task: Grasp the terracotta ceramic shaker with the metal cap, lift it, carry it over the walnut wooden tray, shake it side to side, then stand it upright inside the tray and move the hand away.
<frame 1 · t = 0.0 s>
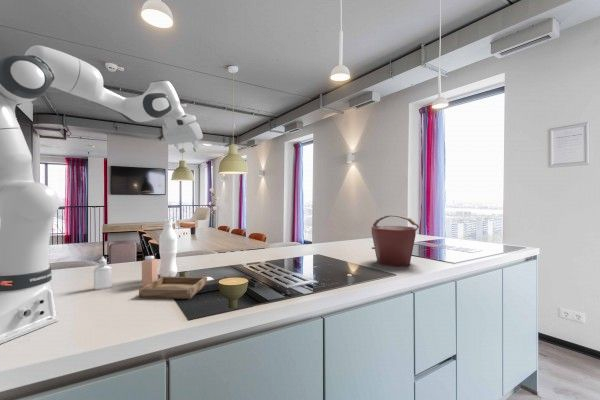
hand: (189, 151, 131), 54 cm above the worktop, tool tilted 30°, fingers open, 8 cm apart
eye dropper bottle: (103, 288, 114), on the worktop
bucket: (393, 263, 156), on the worktop
tray: (175, 290, 110), on the worktop
water bottle: (168, 278, 128), on the worktop
shaker: (149, 285, 117), on the worktop
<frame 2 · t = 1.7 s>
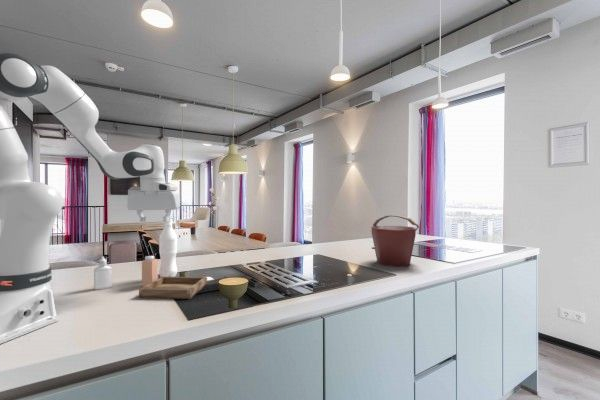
hand: (154, 221, 118), 25 cm above the worktop, tool pointing down, fingers open, 8 cm apart
nothing on the worktop moved.
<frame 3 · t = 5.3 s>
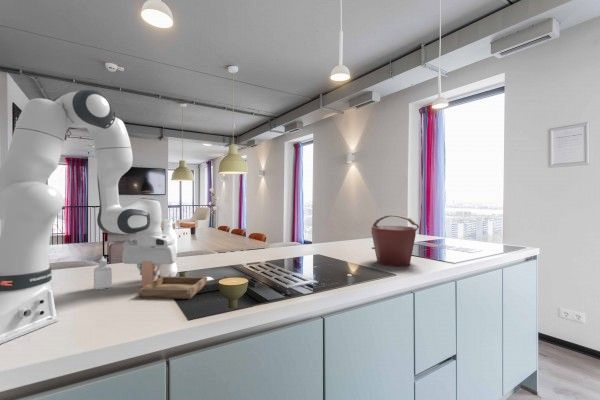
hand: (149, 275, 117), 4 cm above the worktop, tool pointing down, fingers closed on shaker, 4 cm apart
shaker: (149, 285, 117), on the worktop, touching gripper
everything else where it was.
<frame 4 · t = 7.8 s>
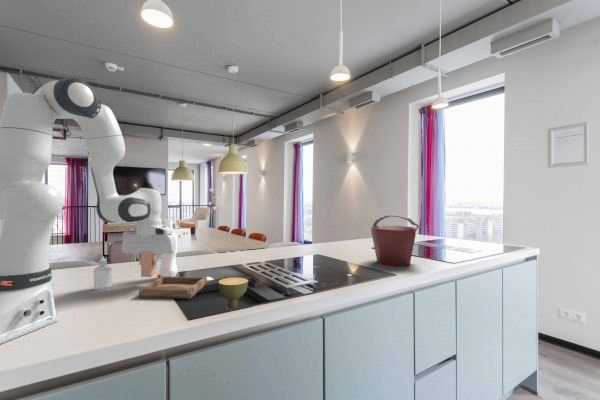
hand: (149, 264, 117), 8 cm above the worktop, tool pointing down, fingers closed on shaker, 4 cm apart
shaker: (149, 275, 117), point 4 cm above the worktop, touching gripper
everything else where it was.
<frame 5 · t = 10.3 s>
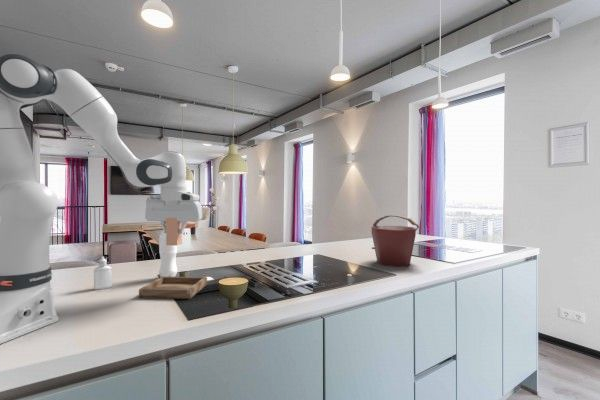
hand: (174, 233, 111), 21 cm above the worktop, tool pointing down, fingers closed on shaker, 4 cm apart
shaker: (174, 244, 111), point 17 cm above the worktop, touching gripper
everything else where it was.
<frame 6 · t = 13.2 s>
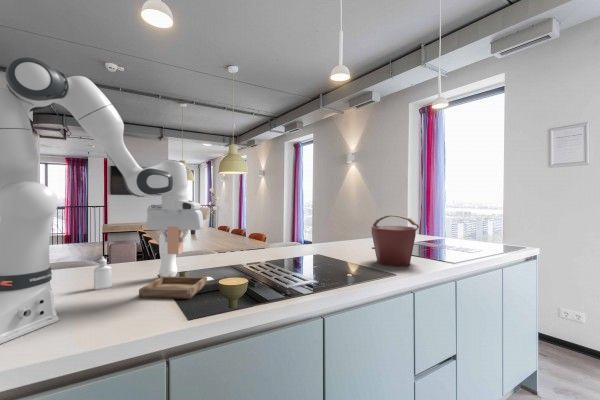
hand: (175, 242, 110), 18 cm above the worktop, tool pointing down, fingers closed on shaker, 4 cm apart
shaker: (175, 253, 110), point 14 cm above the worktop, touching gripper
everything else where it was.
when the fingers open (6 cm above the worktop, at t = 15.5 s): shaker drops 1 cm, resting on tray.
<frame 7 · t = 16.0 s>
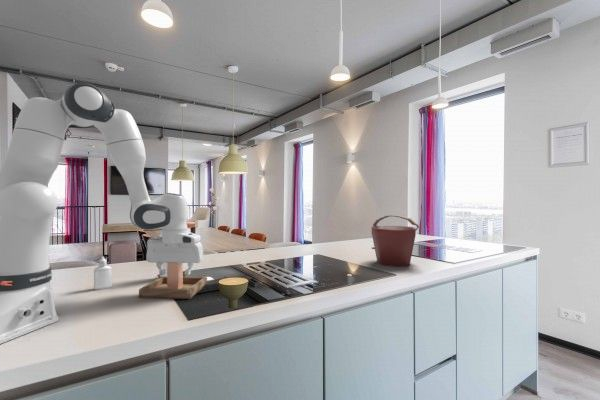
hand: (175, 274, 110), 6 cm above the worktop, tool pointing down, fingers open, 8 cm apart
shaker: (175, 288, 111), point 1 cm above the worktop, touching tray
everything else where it was.
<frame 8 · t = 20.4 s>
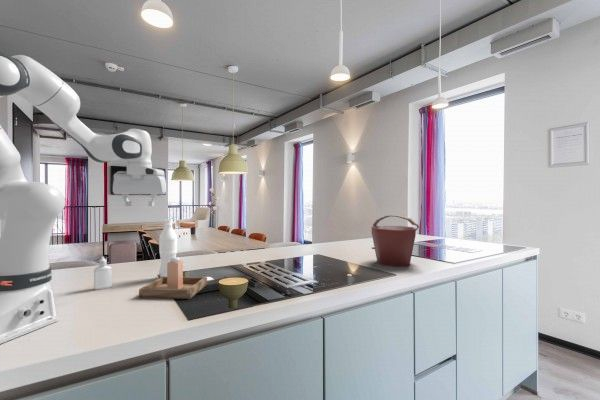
hand: (139, 205, 119), 31 cm above the worktop, tool pointing down, fingers open, 8 cm apart
nothing on the worktop moved.
at the end: shaker inside the target area on the tray (0.1 cm from its centre), point 0.8 cm above the tray's base; shaker tilted 0°; the gripper is holding nothing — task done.
